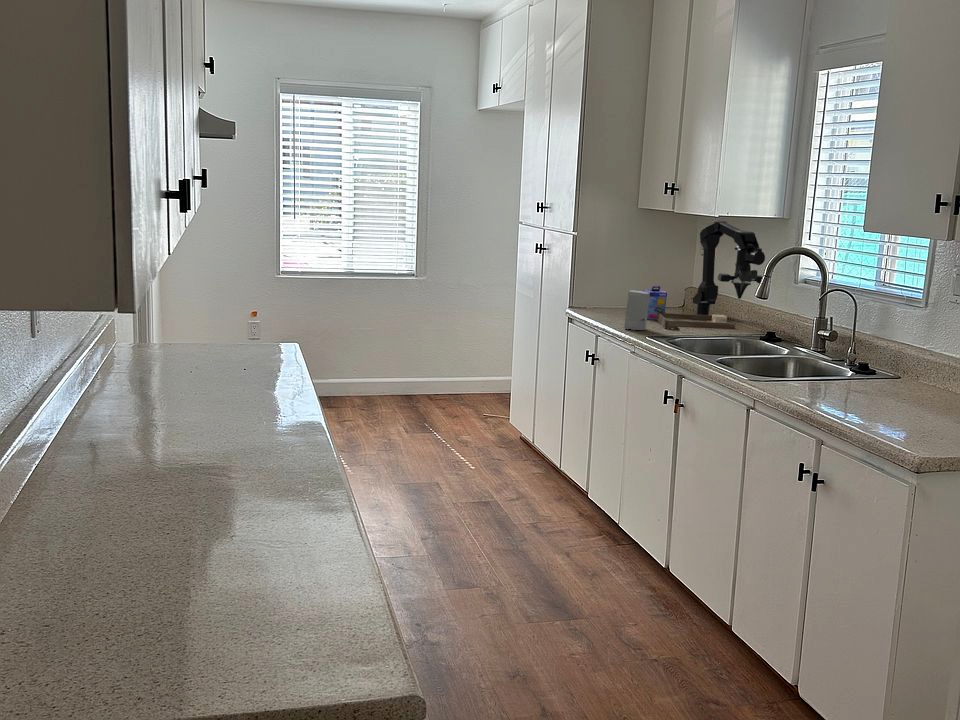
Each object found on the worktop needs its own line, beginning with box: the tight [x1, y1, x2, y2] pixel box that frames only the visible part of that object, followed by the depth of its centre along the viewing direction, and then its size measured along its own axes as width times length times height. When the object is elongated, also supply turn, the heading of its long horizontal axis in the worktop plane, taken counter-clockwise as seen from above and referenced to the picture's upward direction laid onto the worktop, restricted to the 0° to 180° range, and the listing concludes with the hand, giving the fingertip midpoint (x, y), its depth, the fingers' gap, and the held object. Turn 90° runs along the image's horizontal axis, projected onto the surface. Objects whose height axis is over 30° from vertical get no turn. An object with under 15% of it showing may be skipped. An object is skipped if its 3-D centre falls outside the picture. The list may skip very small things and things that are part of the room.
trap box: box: [656, 312, 736, 330], centre depth 397 cm, size 18×29×4 cm, turn 90°
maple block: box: [711, 314, 728, 323], centre depth 397 cm, size 5×5×4 cm
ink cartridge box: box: [642, 285, 668, 320], centre depth 410 cm, size 10×6×14 cm, turn 101°
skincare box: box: [623, 289, 650, 331], centre depth 383 cm, size 8×7×16 cm
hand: (739, 298), depth 395 cm, fingers closed
